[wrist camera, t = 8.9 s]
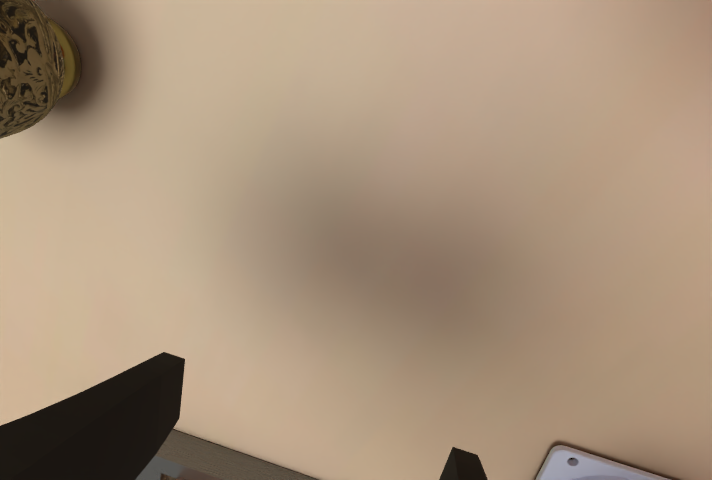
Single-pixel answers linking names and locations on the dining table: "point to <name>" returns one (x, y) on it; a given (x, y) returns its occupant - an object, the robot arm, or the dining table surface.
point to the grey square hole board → (209, 463)
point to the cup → (32, 65)
